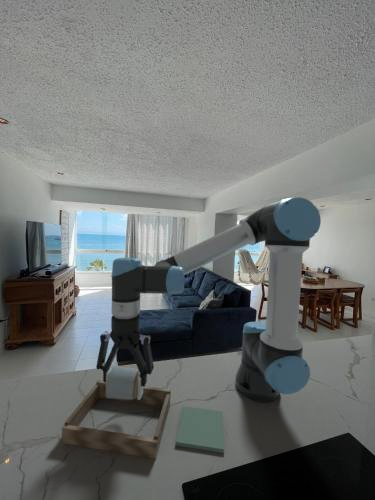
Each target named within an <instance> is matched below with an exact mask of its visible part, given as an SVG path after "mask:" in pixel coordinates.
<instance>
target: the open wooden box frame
mask: <svg viewBox="0 0 375 500" xmlns="http://www.w3.org/2000/svg"><path fill="white" fill-rule="evenodd" d="M171 392H172V389H171V388H169V389H168V388H162V387H155V386H154V387H152V386H146V385H145V387H144V386H143V395H142V397H141V399H140V400H137V397H136V398H135V399H115V398H107V397H106V382H104V381H103V380H98V379H97V381H96V382H95V385H93V387H92V388H91V390H90V391H89V392H88V393H87V394H86V396H85V397H84V398H83V400H82V401H81V402H80V403H79V404H78V406H77V407H76V408H75V409H74V410H73V412H71V414H70V415H69V417H67V419H66V420H65V422H64V424H63V426H62V427H61V444H63V445H70V446H76V447H77V446H78V447H82V448H88V449H96V450H100V451H107V452H112V453H113V452H114V453H117V454H118V453H119V454H124V455H129V456H130V455H132V456H138V457H142V458H143V457H144V458H150V459H157V456H158V452H159V449H160V445H161V441H162V437H163V434H164V429H165V427H166V422H167V419H168V413H169V410H170V407H171ZM99 399H106V400H114V401H119V402H120V401H121V402H127V403H135V404H143V405H149V406H157V407H162V408H161V411H160V415H159V418H158V421H157V424H156V428H155V431H154V433H153V437H148V436H142V435H136V434H129V433H122V432H116V431H111V430H104V429H97V428H90V427H84V426H80V424H81V423H82V422H83V421H84V419H85V418H86V416H87V415H88V413H90V412H91V409H92V408H93V406H94V405H95V404H96V402H97V401H98V400H99Z"/></svg>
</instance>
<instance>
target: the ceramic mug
mask: <svg viewBox="0 0 375 500" xmlns="http://www.w3.org/2000/svg"><path fill="white" fill-rule="evenodd" d="M139 373H140V372H139V369H138V368H132V367H131V368H130V367H123V366H117V365H115V366H113V367H112V369H111V371H110V373H109V375H108V379H107V383H106V397H107V398H115V399H135V398H136V397H137V391H138V375H139Z"/></svg>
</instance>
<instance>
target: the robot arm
mask: <svg viewBox="0 0 375 500" xmlns="http://www.w3.org/2000/svg"><path fill="white" fill-rule="evenodd" d="M321 221H322V220H321V215H320V210H319V209H318V207H317V206H316V205H315V204H314V203H313V202H312V201H310V200H309V199H308V198H305V197H301V196H295V197H294V196H293V197H290V198H289V197H287V198H283V199H281V200H279V201H276V202H272V203H269V204H267V205H264V206H262V207H261V208H260V209H257V210H256V211H255V212H253V213H252V214H250V215H248V216H246V217H244V218H242V219H240V220H239V222H238V224H237V225H235V226H233V227H231V228H228V229H226V230H224V231H221V232H220V233H217V234H215V235H213V236H212V237H210V238H207V239H205V240H203V241H201V242H199V243H196V244H194V245H193V246H191V247H189V248H186V249H184V250H183V251H179V252H178V253H175V254H174V255H172V256H170V257H168V258H165V259H161V260H159V261H157V262H156V263H155V264H154V265H144V264H142V260H141V258H137V257H117V258H115V259H114V260H113V262H112V270H111V275H110V277H111V315H112V316H111V321H110V322H111V324H110V326H111V327H110V328H111V329H110V330H111V331H110V332H108V331H104V332H103V333H102V334H101V335H100V336H99V339H100V346H99V351H98V355H97V359H96V360H97V361H96V369H97V370H101V371H102V373H103V374H102V381H104V382H106V383H107V379H108V375H109V373H110V371H111V369H112V368H113V367H112V364H113V362H114V359H115V357H116V356H117V353H118V352H119V350H123V349H125V350H128V351H129V353H130V354H131V355H132V358H133V359H134V362H135V365H136V367H137V370H139V372H140V373H139V375H138V391H137V400H140V399H141V397H142V395H143V386H144V387H145V386H146V384H147V382H148V375H151V374H152V372H153V370H154V368H155V367H154V360H153V354H152V353H153V352H152V347H151V338H152V336H151V335H150V334H147V335H145V334H142V333H141V330H140V328H141V327H140V326H141V325H140V324H141V314H140V313H141V294H169V295H173V294H181V293H183V292H184V290H185V275H187V274H189V273H191V272H193V271H195V270H198V269H199V268H202V267H203V266H206V265H209V264H210V263H212V262H214V261H216V260H218V259H220V258H222V257H225V256H227V255H228V254H231V253H233V252H235V251H237V250H239V249H241V248H243V247H245V246H247V245H250V246H255V245H256V244H258V243H261V242H264V246H265V248H266V249H268V251H269V262H268V265H269V266H268V282H267V297H266V298H267V302H266V318H265V322H263V321H249V322H246V323H244V325H243V328H242V329H243V330H242V345H241V362H240V365H239V366H238V369H237V371H236V374H235V380H234V381H235V382H234V384H235V387H236V389H237V391H239V392H240V393H241V394H242V395H243V396H244V397H247V398H248V399H250V400H253V401H255V402H256V401H257V402H260V403H261V402H263V403H265V402H266V403H268V402H273V401H275V400H276V399H278V397H280V395H292V394H295V393H298V392H300V391H301V390H302V389H304V388H305V387H306V386H307V384H308V383H309V380H310V379H311V369H310V365H309V364H308V362H307V360H306V359H304V358H303V348H304V344H303V341H302V339H300V337H299V336H298V334H299V333H298V331H299V317H300V302H301V301H300V300H301V287H302V286H301V285H302V271H303V256H304V255H303V254H304V253H305V252H306V251H307V250H308V249H309V248H310V242H311V241H310V240H311V239H312V238H313V237H314V236H315V234H317V233H318V232H319V230H320V228H321ZM110 340H111V341H112V342H113V345H112V347H111V351H110V353H109V355H108V356H107V354H108V349H109V348H108V347H109V342H110ZM139 341H140V342H141V343H140V344H141V345H142V349H143V354H142V352H141V349H140V344H139V343H138V342H139ZM143 355H144V357H143ZM106 358H107V359H106Z"/></svg>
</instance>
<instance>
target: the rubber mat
mask: <svg viewBox="0 0 375 500" xmlns="http://www.w3.org/2000/svg"><path fill="white" fill-rule="evenodd" d="M223 422H224V421H223V411H222V410H221V411H220V410H215V409H214V410H213V409H207V408H200V407H192V406H185V405H184V406H183V405H182V407H181V411H180V417H179V423H178V427H177V428H178V429H177V434H176V440H175V447H180V448H181V447H182V448H188V449H196V450H199V451H200V450H202V451H207V452H213V453H220V454H225V441H224V425H223V424H224V423H223Z"/></svg>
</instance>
